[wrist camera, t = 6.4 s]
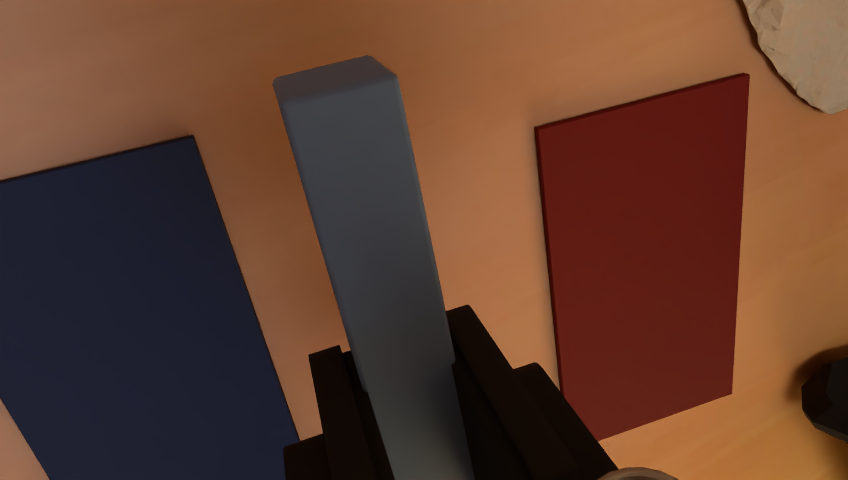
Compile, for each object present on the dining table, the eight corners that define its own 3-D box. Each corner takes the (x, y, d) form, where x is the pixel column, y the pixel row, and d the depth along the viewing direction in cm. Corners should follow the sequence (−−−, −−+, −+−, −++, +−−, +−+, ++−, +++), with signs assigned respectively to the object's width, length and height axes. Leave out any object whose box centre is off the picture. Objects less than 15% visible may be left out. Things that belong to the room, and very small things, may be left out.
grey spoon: (156, 105, 8) (141, 137, 7) (473, 27, 9) (519, 42, 8) (386, 704, 15) (402, 784, 13) (561, 632, 15) (594, 701, 14)
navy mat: (-109, 206, 21) (-115, 211, 21) (193, 134, 23) (192, 137, 23) (104, 559, 30) (102, 567, 29) (316, 487, 31) (317, 493, 31)
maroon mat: (533, 127, 27) (538, 129, 26) (743, 72, 28) (750, 74, 28) (565, 446, 35) (569, 451, 34) (727, 389, 36) (732, 393, 36)
